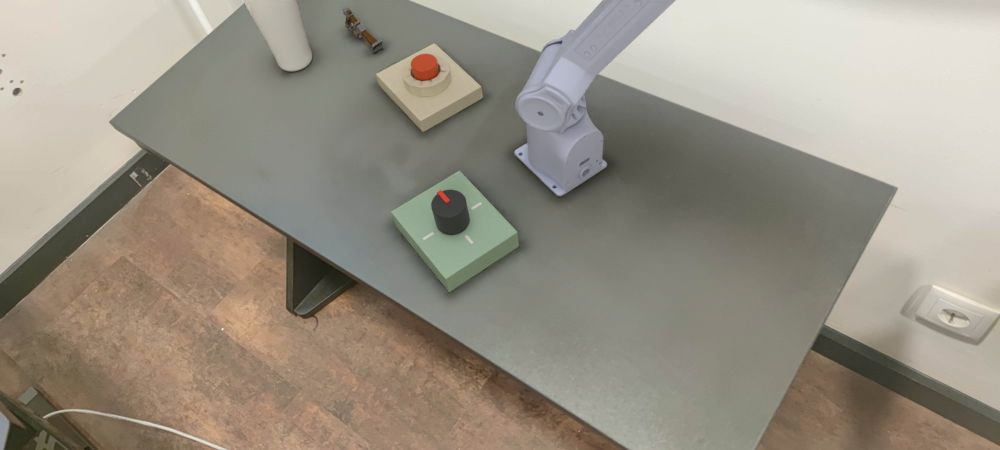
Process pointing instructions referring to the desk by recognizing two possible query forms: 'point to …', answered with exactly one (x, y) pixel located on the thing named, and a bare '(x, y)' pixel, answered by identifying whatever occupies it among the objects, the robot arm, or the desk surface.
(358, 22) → the wooden post with brackets
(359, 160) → the desk surface
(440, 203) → the dial
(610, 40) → the robot arm
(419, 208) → the dial panel
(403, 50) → the desk surface
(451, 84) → the push button base
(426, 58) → the power button
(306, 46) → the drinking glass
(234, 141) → the desk surface
